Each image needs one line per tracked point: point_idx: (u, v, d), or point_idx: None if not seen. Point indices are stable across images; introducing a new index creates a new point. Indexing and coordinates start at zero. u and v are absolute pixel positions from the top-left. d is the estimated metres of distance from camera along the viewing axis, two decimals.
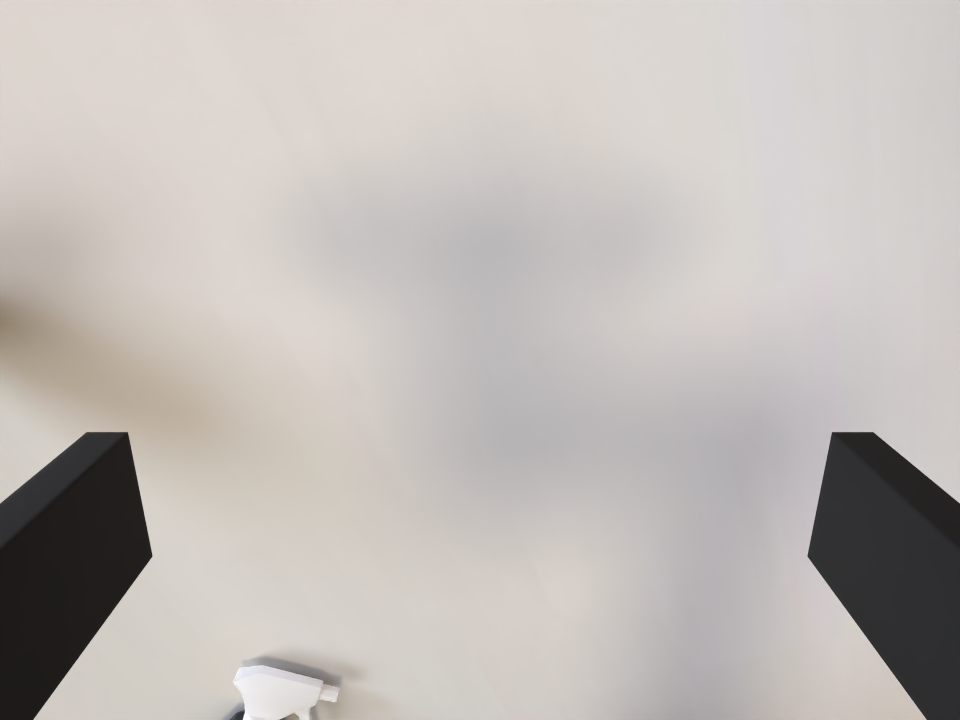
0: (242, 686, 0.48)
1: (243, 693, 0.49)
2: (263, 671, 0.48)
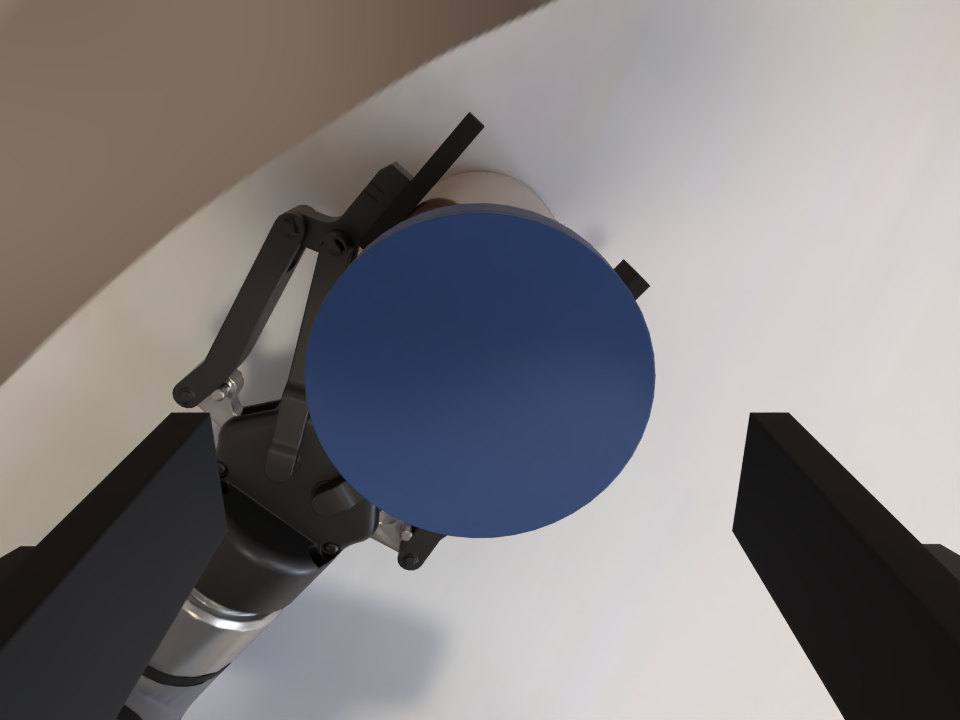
0: None
1: None
2: None
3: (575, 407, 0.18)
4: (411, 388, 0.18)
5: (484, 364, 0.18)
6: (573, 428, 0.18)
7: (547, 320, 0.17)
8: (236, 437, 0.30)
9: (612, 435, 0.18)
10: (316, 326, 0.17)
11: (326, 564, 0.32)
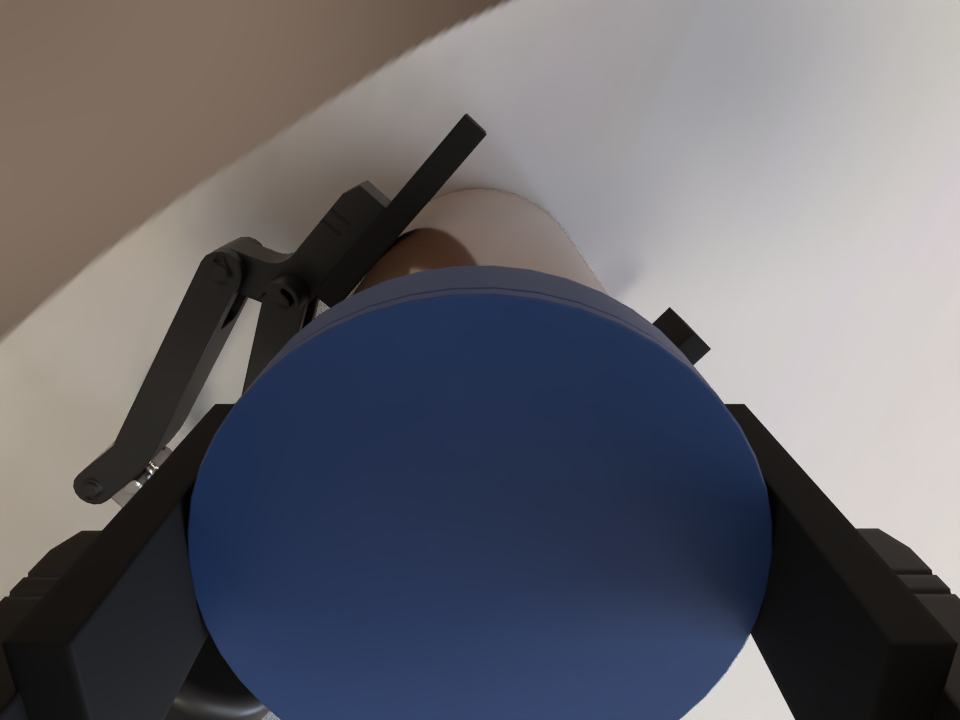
0: None
1: None
2: None
3: (637, 602, 0.11)
4: (366, 573, 0.11)
5: (487, 538, 0.10)
6: (633, 632, 0.11)
7: (595, 470, 0.10)
8: None
9: (696, 643, 0.11)
10: (202, 479, 0.10)
11: None
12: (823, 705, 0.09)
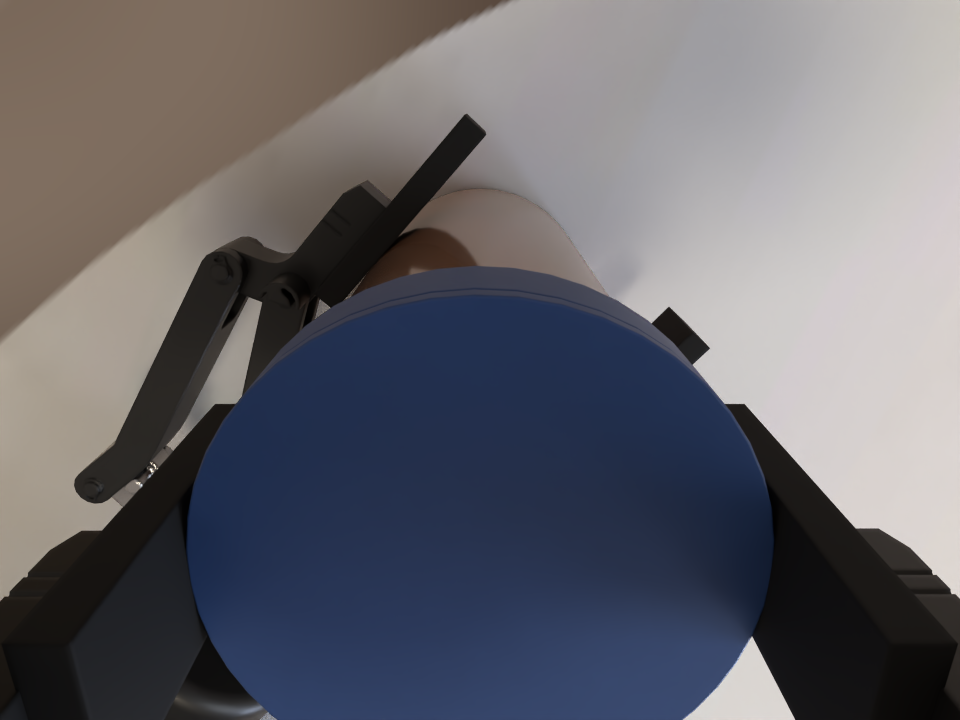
0: None
1: None
2: None
3: (526, 436, 0.10)
4: (469, 667, 0.11)
5: (434, 570, 0.11)
6: (568, 440, 0.10)
7: (358, 476, 0.10)
8: None
9: (591, 373, 0.09)
10: None
11: None
12: (823, 705, 0.09)
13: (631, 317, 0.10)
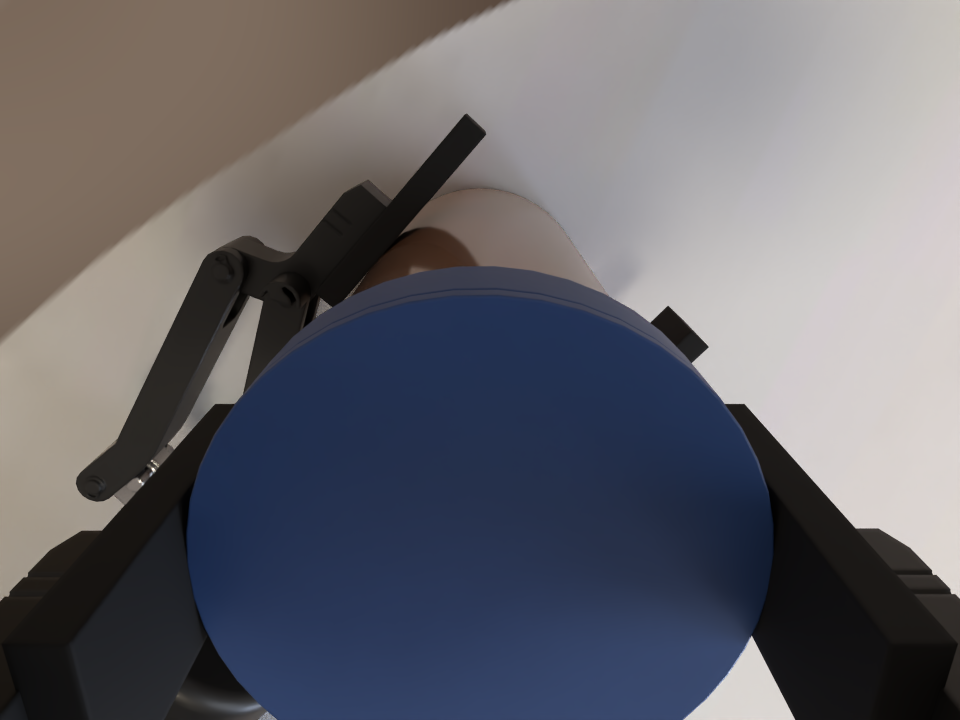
0: None
1: None
2: None
3: (320, 533, 0.10)
4: (591, 593, 0.11)
5: (466, 614, 0.11)
6: (324, 498, 0.10)
7: (362, 662, 0.11)
8: None
9: (253, 479, 0.10)
10: (708, 690, 0.11)
11: None
12: (822, 705, 0.09)
13: None
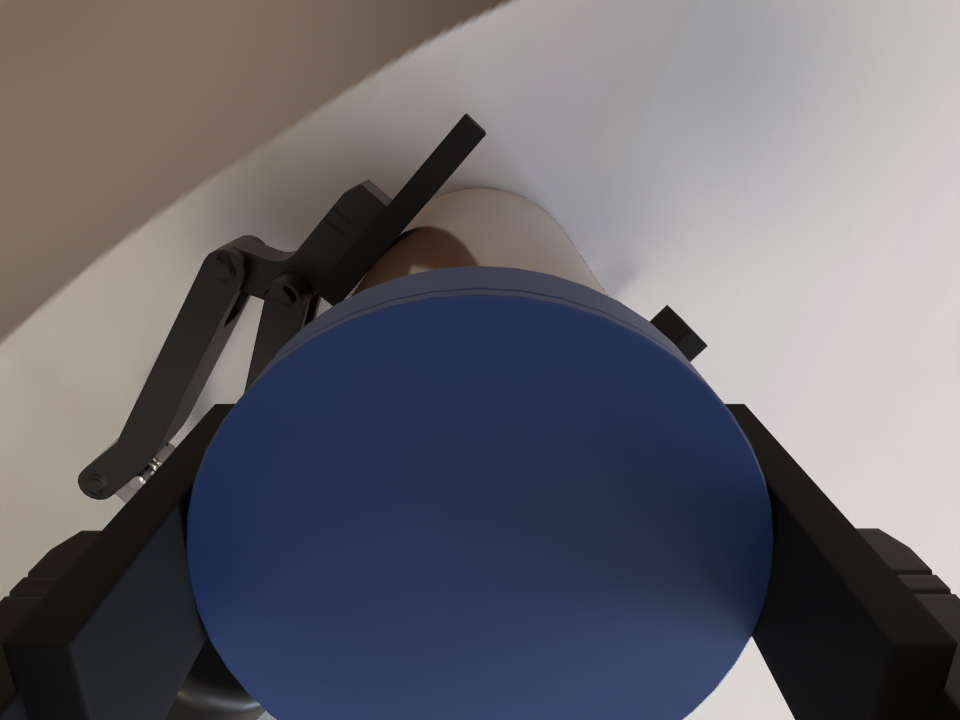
0: None
1: None
2: None
3: (420, 694, 0.11)
4: (507, 481, 0.10)
5: (522, 592, 0.11)
6: (385, 687, 0.11)
7: (570, 680, 0.11)
8: None
9: None
10: (663, 357, 0.09)
11: None
12: (822, 705, 0.09)
13: None
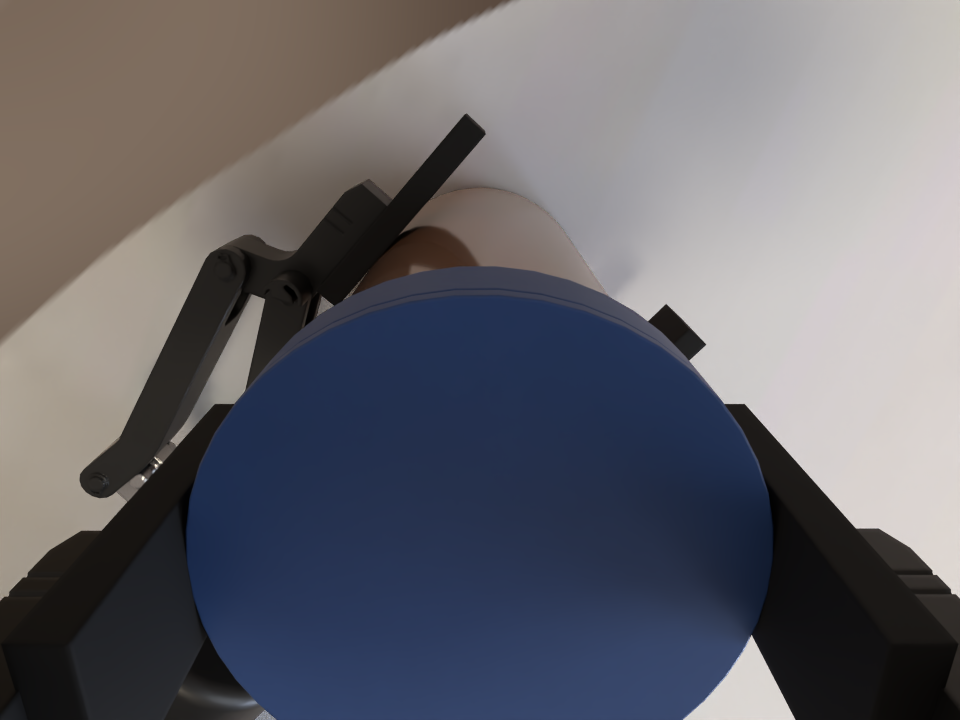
0: None
1: None
2: None
3: (620, 637, 0.11)
4: (368, 550, 0.10)
5: (499, 543, 0.10)
6: (606, 665, 0.11)
7: (623, 503, 0.10)
8: None
9: (662, 688, 0.11)
10: (234, 416, 0.10)
11: None
12: (822, 705, 0.09)
13: None
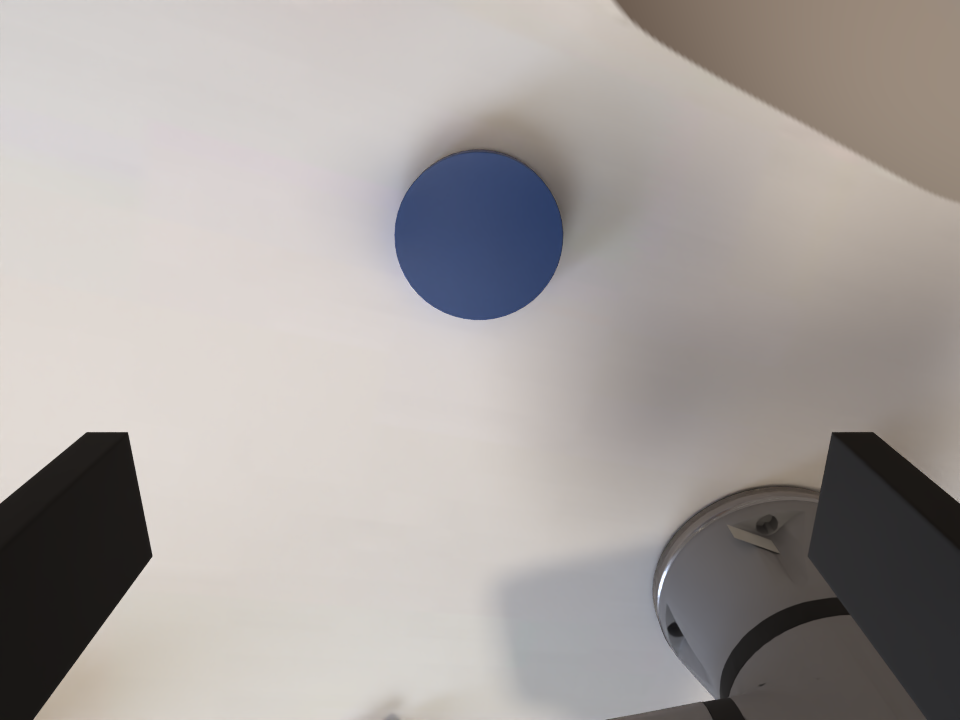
0: None
1: None
2: None
3: (520, 260, 0.37)
4: (447, 229, 0.37)
5: (484, 227, 0.37)
6: (517, 270, 0.38)
7: (518, 213, 0.37)
8: None
9: (534, 279, 0.38)
10: (412, 186, 0.36)
11: None
12: None
13: None
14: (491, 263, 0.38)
